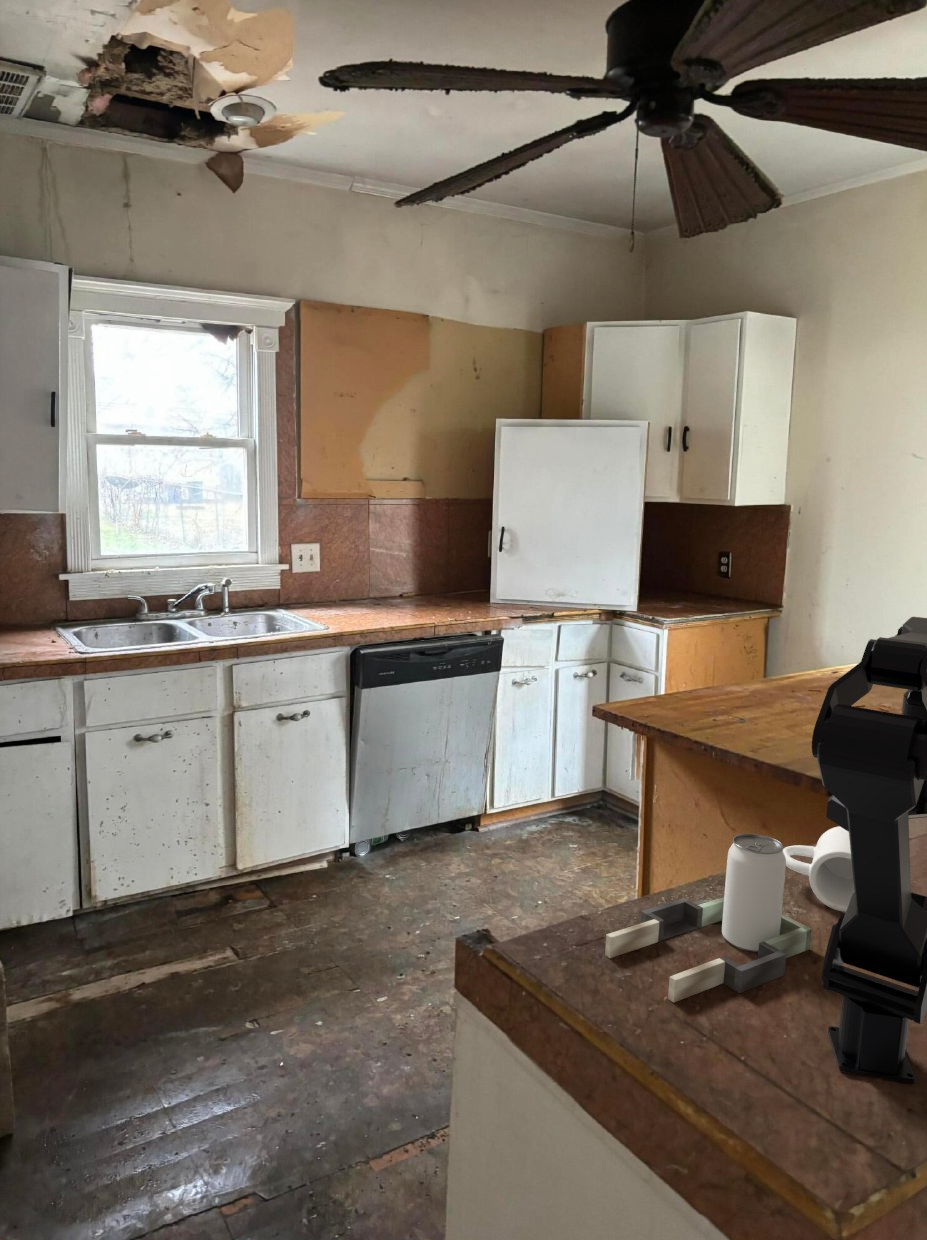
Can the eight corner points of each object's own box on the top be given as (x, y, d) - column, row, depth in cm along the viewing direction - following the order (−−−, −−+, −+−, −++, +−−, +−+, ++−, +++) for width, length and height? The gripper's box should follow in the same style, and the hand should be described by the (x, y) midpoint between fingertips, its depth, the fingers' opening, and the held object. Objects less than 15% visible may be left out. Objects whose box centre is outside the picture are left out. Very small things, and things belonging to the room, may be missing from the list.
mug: (876, 888, 119) (882, 832, 118) (874, 919, 110) (880, 859, 109) (783, 868, 124) (788, 814, 123) (773, 897, 115) (778, 839, 114)
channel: (689, 1014, 89) (691, 991, 88) (592, 946, 101) (593, 926, 101) (826, 958, 100) (828, 937, 100) (723, 903, 113) (725, 885, 113)
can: (787, 939, 104) (796, 843, 103) (765, 960, 100) (774, 859, 98) (735, 920, 109) (742, 827, 107) (711, 939, 104) (719, 843, 102)
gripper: (948, 715, 99) (933, 846, 101) (800, 724, 94) (789, 861, 97) (1032, 746, 88) (1013, 892, 91) (870, 757, 84) (855, 910, 86)
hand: (914, 886), depth 92 cm, fingers open, 9 cm apart
